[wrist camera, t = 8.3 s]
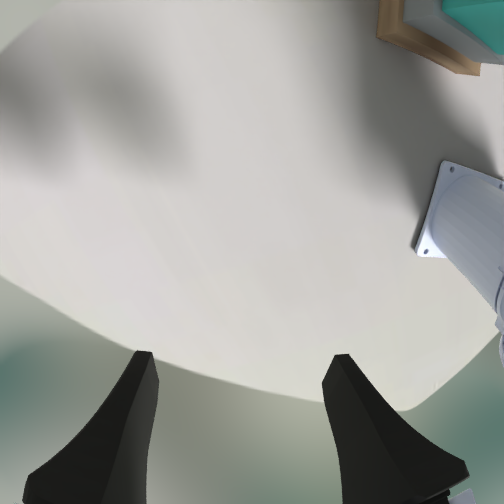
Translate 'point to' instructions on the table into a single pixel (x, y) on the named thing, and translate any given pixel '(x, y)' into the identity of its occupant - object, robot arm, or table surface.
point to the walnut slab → (419, 40)
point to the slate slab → (448, 30)
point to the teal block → (480, 19)
